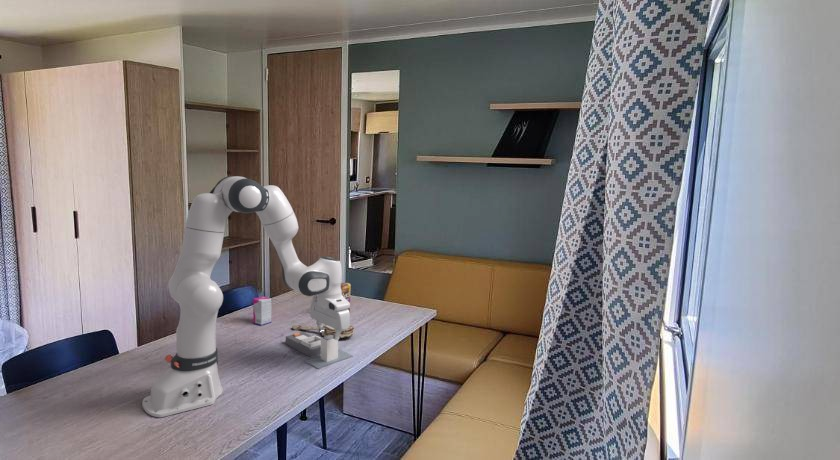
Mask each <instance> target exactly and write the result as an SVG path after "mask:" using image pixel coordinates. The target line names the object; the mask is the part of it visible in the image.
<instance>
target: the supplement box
mask: <svg viewBox="0 0 840 460" xmlns="http://www.w3.org/2000/svg"><path fill="white" fill-rule="evenodd" d="M252 301H253V302H252V306H253V307H252V310H253V311H252V313H253V316H252V317H253V321H252V322H253V324H254V325H258V326H260V327H263V326H265V325H268V324H271V323H272V298H271V297H267V296H259V297H256V298H255V297H254V298H253V300H252Z"/></svg>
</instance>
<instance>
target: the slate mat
mask: <svg viewBox="0 0 840 460" xmlns="http://www.w3.org/2000/svg"><path fill="white" fill-rule="evenodd" d="M352 357H354V355H352V354H350V353H348V352H346V351H344V350H342V349H338V358H337V359H334V360H331V361H328V362H326V361H325V360H323V359H321V355H318V356H315V357H312V358H310V359H307V360H305V361H304V363H306V364H308V365H310V366H311V367H314V368H316V369H317V370H319V369H322V368H324V367H328V366H330V365H333V364H336V363H338V362H341V361H342V362H343V361H344V360H348V359H349V358H352Z"/></svg>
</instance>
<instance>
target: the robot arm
mask: <svg viewBox="0 0 840 460" xmlns="http://www.w3.org/2000/svg"><path fill="white" fill-rule="evenodd" d="M233 212H234V213H240V214H252V213H255V214H256V215H257V216H258V218H259V221H260V223H261V225H262V226H263V229H264V231H265V233H266V235H267V236H268V237H269V239H270V242H271V244H272V245H273V248H274V250H275V253H276V255H277V258H278V260H279V262H280V265H281V269H282V272H281V273H282V274H281V275H282V282H283V284H284V285H285V287H287V288H288V289H290V290H293V291H296V292H297V293H299V294H301V295H302V296H306V297H312V301H311V303H310V310H309V315H310V319H312V320H314V321H316V325H317V326H316V327H318V331H317V332H318V333H320V334H322V333H323V332H324V327H323V326H324V325H328V326H330V327H332V328H334V329H335V331H336V333H335V334H334V335H333V339H335V340H338V341H339V340H340V338H339V336H340V333H341V332H342V331H345V330H347V329H348V328H349V325H351V324H350V321H351V314H350V313H351V311H350V312H349V310H348V308H350V309H351V302H350V303H349V302H348V301H347V300H346V299H345V298H344V297H343V296H342V291H341V283H342V282H343V270H342V269H343V268H342V262H341V261H340V260H339V259H337V258H336V257H332V256H320V257H319V258H318V260H317V261H316V262H314V263H313V264H311V265H309V266H307V265H305V264H304V263H303V262H302V261H300V259H299V257H298V255H297V252H296V249H295V247H294V245H293V241H292V240H293V238H294V237H295V236H296V235H297V233H298V231H299V222H298V219H297V216H296V214H295V212H294V209H293V207H292V205H291V204H290V202H289V200H288V198H287V196H286V195H285V194H284V192H283V190H282V189H280V187H279V186H277V185H271V184H270V185H269V184H268V185H264V186H263V185H261V184H260V183H259V182H257V181H256V180H253V179H250V178H247V177H244V176H238V175H236V176H234V175H229V176H224V177H223V178H221V179H220V180H219V181H217V182H216V184H215V186H214V187H213V188H212V189H211V190H210V192H203V193H200V194H198V195H196V196H195V197H194V198H193V200H192V202H191V205H190V208H189V209H188V213H187V214H188V215H187V218H186V221H185V229H184V233H183V239H182V246H181V249H180V253H179V257H178V260H177V262H176V266H175V268H174V270H173V274H172V275H171V276H170V277H169V279H168V282H167V283H168V284H167V287H168V292H169V294H170V296H171V298H172V299H173V300H174V301H175V302H176V303H177V304H178V305H179V309H180V315H179V322H178V326H177V327H176V331H175V334H176V335H175V336H176V353H175V355H173V356H172V355H171V354H167V355H165V357H164V360H165V361H166V362H167V363H168V364H170V367H169V368H168V369H167V370H166V371H164V372H163V373H162V374H161V375H159V377H158V378H157V379H155V380H154V381H153V383H152V384H151V389H150V394H149V395H147V396H145V397H144V398H143V399H142V402H141V406H142V409H143V410H144V411H145V412H146V413H147V414H148V415H149V416H152V417H154V418H163V417H169V416H171V415H176V414H179V413H184V412H186V411H187V412H188V411H192V410H195V409H199V408H204V407H208V406H210V405H213V404H215V402H216V400H217V398H218V397H220V396H221V395H222V393H223V391H224V388H223V386H222V384H221V383H222V382H221V380H220V376H219V368H218V365H219V354H218V348H217V337H216V335H217V332H216V329H217V327H216V326H217V319H218V313H219V309H220V308H221V306H222V305H223V302H224V294H223V292H222V289H221V288H220V286H219V285H218V283H217V282H216V281H214V280H213V279H211V275H212V271H213V269H214V267H215V265H216V263H217V261H218V260H219V259H220V258H221V253H222V249H223V241H224V237H225V230H226V223H227V220H228V217H230V214H232V213H233Z"/></svg>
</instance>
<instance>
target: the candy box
mask: <svg viewBox="0 0 840 460" xmlns="http://www.w3.org/2000/svg"><path fill="white" fill-rule="evenodd" d="M351 286H352V285H351V283H350V282H343V283H342V282H341V291H342V296H343V297H344V298H345V299H346V300H347V301H348V302H349V303H350V304H351V290H352V289H351ZM348 310H349V312H350V313H351V307H350V308H348Z"/></svg>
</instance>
